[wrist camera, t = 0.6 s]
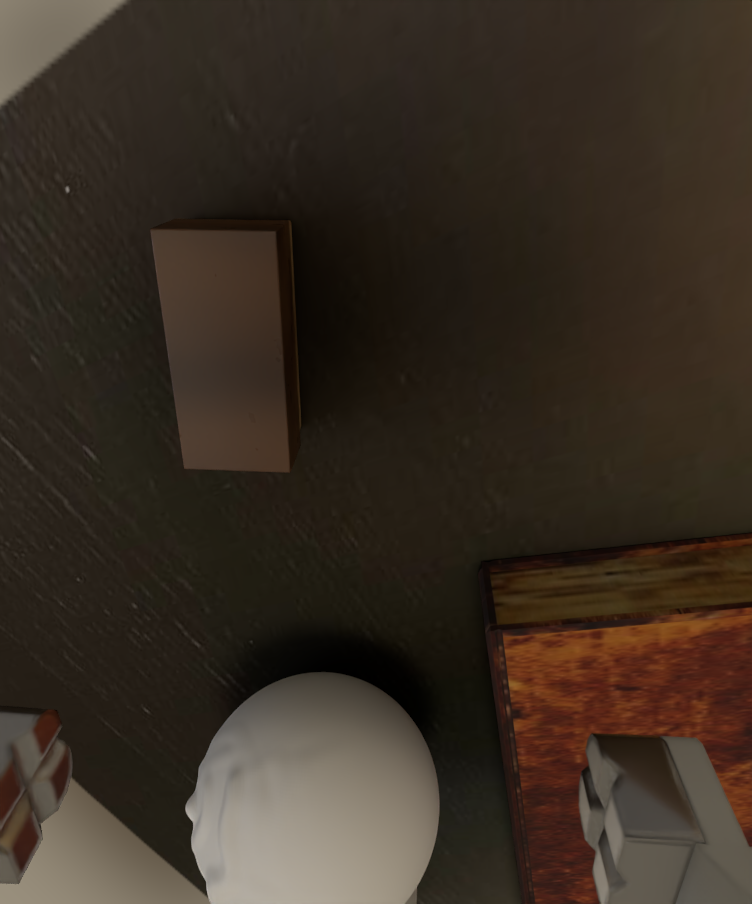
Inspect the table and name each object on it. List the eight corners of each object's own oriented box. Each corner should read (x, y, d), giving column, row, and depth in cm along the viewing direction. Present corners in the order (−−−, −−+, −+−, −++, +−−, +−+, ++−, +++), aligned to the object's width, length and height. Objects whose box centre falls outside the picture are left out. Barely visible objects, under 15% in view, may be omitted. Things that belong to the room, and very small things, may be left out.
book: (476, 562, 33) (485, 632, 28) (1013, 505, 30) (1117, 573, 25) (523, 907, 46) (534, 992, 41) (900, 894, 43) (956, 985, 38)
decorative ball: (221, 616, 36) (135, 830, 25) (444, 630, 35) (453, 855, 24) (237, 765, 41) (171, 993, 30) (430, 780, 40) (432, 1016, 30)
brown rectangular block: (186, 213, 26) (149, 228, 23) (296, 214, 26) (276, 230, 22) (211, 428, 30) (183, 469, 27) (306, 431, 30) (290, 473, 27)
